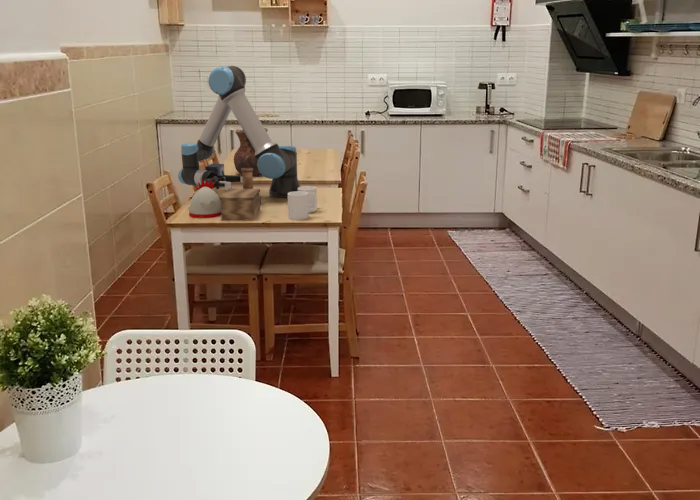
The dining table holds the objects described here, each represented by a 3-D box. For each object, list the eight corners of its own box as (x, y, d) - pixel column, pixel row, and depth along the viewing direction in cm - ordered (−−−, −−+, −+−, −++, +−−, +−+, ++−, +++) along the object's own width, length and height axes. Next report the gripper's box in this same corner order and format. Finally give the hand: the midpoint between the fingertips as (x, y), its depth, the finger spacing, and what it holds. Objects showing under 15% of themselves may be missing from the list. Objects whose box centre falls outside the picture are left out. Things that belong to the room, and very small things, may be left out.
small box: (218, 187, 347) (216, 166, 345) (205, 187, 349) (204, 166, 346) (225, 183, 357) (224, 163, 354) (213, 183, 359) (212, 163, 356)
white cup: (301, 214, 289) (301, 190, 286) (295, 210, 296) (294, 187, 293) (319, 212, 292) (319, 188, 289) (312, 208, 299) (312, 185, 296)
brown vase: (226, 174, 384) (224, 128, 377) (258, 170, 397) (255, 125, 390) (250, 179, 368) (247, 132, 361) (281, 174, 382) (279, 128, 375)
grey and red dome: (225, 216, 286) (223, 180, 282) (191, 219, 281) (189, 183, 277) (220, 209, 298) (218, 175, 294) (187, 212, 294) (184, 177, 290)
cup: (319, 218, 280) (318, 194, 278) (289, 220, 278) (288, 195, 275) (316, 214, 288) (315, 190, 285) (287, 215, 286) (286, 191, 283)
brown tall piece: (255, 203, 310) (253, 167, 306) (253, 205, 305) (252, 169, 301) (243, 203, 310) (242, 167, 306) (242, 205, 305) (240, 169, 301)
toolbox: (265, 202, 311) (264, 182, 309) (254, 219, 279) (253, 197, 277) (235, 202, 311) (234, 182, 309) (220, 220, 279) (219, 197, 277)
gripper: (226, 182, 329) (260, 186, 317) (187, 191, 309) (222, 196, 297) (225, 166, 327) (259, 170, 315) (185, 174, 307) (221, 179, 295)
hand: (241, 183), depth 306 cm, fingers open, 13 cm apart
